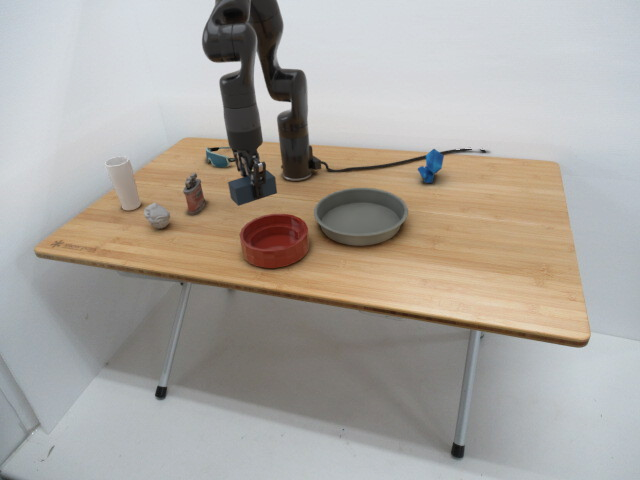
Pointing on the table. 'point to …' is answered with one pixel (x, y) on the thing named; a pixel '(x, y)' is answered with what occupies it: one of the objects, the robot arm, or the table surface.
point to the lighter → (194, 194)
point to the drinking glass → (123, 182)
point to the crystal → (431, 165)
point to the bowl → (274, 240)
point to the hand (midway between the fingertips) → (254, 193)
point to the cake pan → (360, 215)
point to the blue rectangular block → (250, 189)
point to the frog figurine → (157, 215)
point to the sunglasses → (218, 157)
